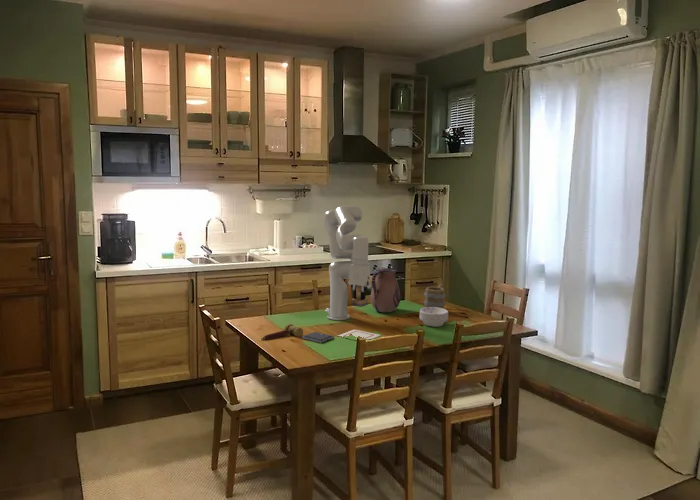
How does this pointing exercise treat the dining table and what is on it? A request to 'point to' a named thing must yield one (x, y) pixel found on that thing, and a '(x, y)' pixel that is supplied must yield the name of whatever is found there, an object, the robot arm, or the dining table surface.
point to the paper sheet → (360, 334)
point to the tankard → (434, 297)
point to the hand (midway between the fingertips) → (359, 298)
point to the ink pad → (317, 337)
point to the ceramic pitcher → (385, 290)
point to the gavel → (285, 332)
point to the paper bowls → (433, 316)
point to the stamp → (359, 298)
